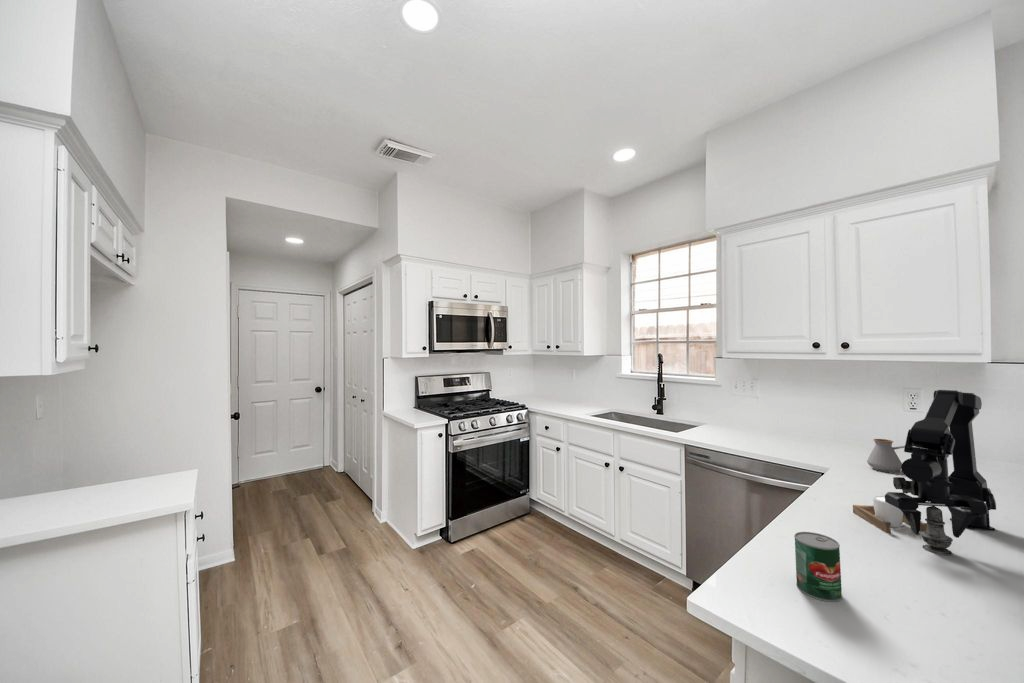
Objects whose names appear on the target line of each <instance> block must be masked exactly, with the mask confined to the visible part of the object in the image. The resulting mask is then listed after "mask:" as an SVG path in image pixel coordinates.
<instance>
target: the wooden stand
mask: <svg viewBox="0 0 1024 683" xmlns="http://www.w3.org/2000/svg"><path fill="white" fill-rule="evenodd" d="M852 513H853V514H855V515H856V516H857V517H859V518H861V519H862V520H865V521H866V522H868V523H869V524H871V525H873V526H874V527H876V528H878V530H881V531H882V532H884V533H885V534H892V529H891V528H892V526H890V525H891V522H889V521H883V520H881V519H880V518H878V517H876V516H875V510H874V505H866V504H865V505H863V504H852ZM902 523H905V525H908V526H910V525H909V523H908V521H907V519H906V517H905V515H904V514H903V520H902ZM926 530H927V522H923V521H921V522H920V532H922V531H926Z"/></svg>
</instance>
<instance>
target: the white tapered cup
mask: <svg viewBox="0 0 1024 683" xmlns="http://www.w3.org/2000/svg"><path fill="white" fill-rule="evenodd" d="M871 498H872V502H873V503H872V504H873V506H874V510H875V516H876V517H878V518H880V519H881V520H883V521H889V522H891V525H890V527H891V528H892V527H893V528H900V527H902V526H903V522H902V520H903V512H902V511H901V510H900V509H899V508H897V507H895V506H893V505H891V504H889V503H887V502H885V495H883V496H882V495H874V496H872V497H871Z"/></svg>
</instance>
